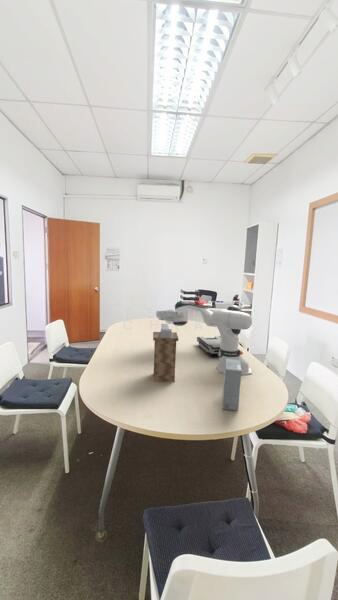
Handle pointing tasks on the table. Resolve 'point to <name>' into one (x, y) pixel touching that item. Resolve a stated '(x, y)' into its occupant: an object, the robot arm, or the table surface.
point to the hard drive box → (231, 384)
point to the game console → (210, 345)
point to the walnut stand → (164, 357)
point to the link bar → (165, 331)
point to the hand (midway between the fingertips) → (170, 312)
